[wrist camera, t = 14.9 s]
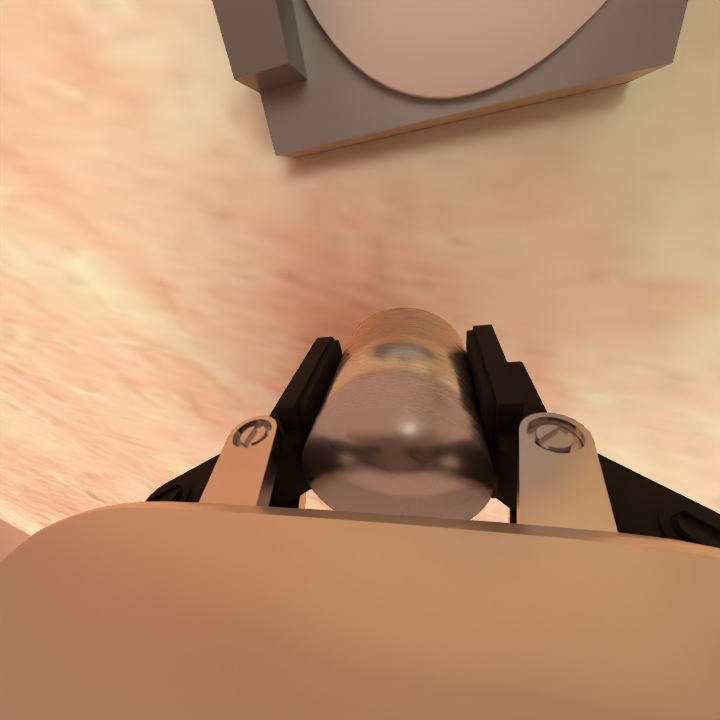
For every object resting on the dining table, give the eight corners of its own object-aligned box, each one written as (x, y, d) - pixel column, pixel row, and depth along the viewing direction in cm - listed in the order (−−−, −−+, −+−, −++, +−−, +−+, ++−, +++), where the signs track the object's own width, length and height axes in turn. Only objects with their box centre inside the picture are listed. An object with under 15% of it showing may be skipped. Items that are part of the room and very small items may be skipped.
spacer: (334, 314, 11) (278, 409, 6) (467, 301, 10) (501, 406, 5) (356, 409, 13) (324, 526, 9) (466, 408, 12) (489, 540, 8)
